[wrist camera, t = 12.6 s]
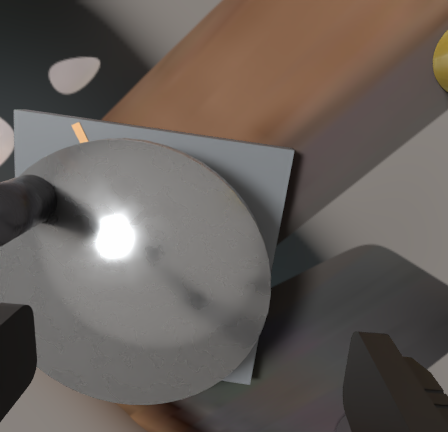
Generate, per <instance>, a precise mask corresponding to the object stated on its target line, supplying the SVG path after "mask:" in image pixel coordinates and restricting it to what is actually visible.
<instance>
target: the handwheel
mask: <svg viewBox="0 0 448 432" xmlns="http://www.w3.org/2000/svg"><path fill="white" fill-rule="evenodd" d="M270 297H271V274H270V266H269V259H268V253H267V249H266V246H265V242H264V239H263V235H262V233H261V231H260V229H259V226H258V224H257V222H256V219H255V218H254V216H253V214H252V213H251V211H250V209H249V208H248V206H247V204H246V203H245V202H244V200H243V199H242V198H241V197H240V195H239V194H238V193H237V192H236V190H235V189H234V188H233V187H232V186H231V185H230V184H229V183H228V182H227V181H226V180H225V179H224V178H223V177H221V176H220V175H219V174H218V173H217V172H215V171H214V170H213V169H211V168H210V167H208V166H207V165H206V164H204V163H203V162H201V161H199V160H198V159H196V158H194V157H192V156H190V155H188V154H187V153H185V152H182V151H180V150H177V149H174V148H172V147H169V146H167V145H163V144H159V143H155V142H151V141H147V140H139V139H130V138H109V139H101V140H94V141H88V142H84V143H79V144H76V145H73V146H70V147H67V148H63V149H60V150H58V151H56V152H54V153H52V154H50V155H48V156H46V157H44V158H42V159H41V160H39V161H38V162H36V163H35V164H33V165H32V166H30V167H29V168H27V169H26V170H25V171H24V172H23V173H22V174H21V175H20V176H19V177H17V178H13V179H10V180H7V181H4V182H1V183H0V303H12V304H24V305H29V306H30V307H31V308H32V310H33V314H34V325H35V338H36V350H37V366H36V367H38V368H39V369H40V370H42V371H43V372H44V373H46V374H47V375H48V376H50V377H51V378H53V379H54V380H56V381H58V382H59V383H61V384H63V385H65V386H66V387H69V388H71V389H73V390H75V391H77V392H79V393H82V394H85V395H88V396H90V397H93V398H97V399H101V400H105V401H109V402H113V403H121V404H130V405H151V404H161V403H167V402H172V401H177V400H181V399H184V398H187V397H190V396H193V395H196V394H198V393H200V392H202V391H204V390H206V389H208V388H210V387H212V386H213V385H215V384H216V383H218V382H219V381H221V380H223V379H224V378H225V377H226V376H228V375H229V374H230V373H231V372H232V371H233V370H235V369H236V368H237V367H238V366H239V364H240V363H241V362H242V361H243V360H244V359H245V358H246V357H247V355H248V354H249V352H250V351H251V349H252V348H253V346H254V345H255V343H256V342H257V340H258V337H259V335H260V333H261V331H262V329H263V327H264V323H265V320H266V317H267V314H268V309H269V303H270Z"/></svg>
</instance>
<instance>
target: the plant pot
mask: <svg viewBox="0 0 448 432" xmlns="http://www.w3.org/2000/svg"><path fill="white" fill-rule="evenodd" d="M433 70H434V74H435V77H436V79H437V81H438V83H439V84H440V85H441V87H442V88H443V89H444V90H446V91H447V92H448V30H447V31H446V33H445V34H444V35H443V36H442V38H441V39H440V41H439V42H438V44H437V46H436V49H435V52H434V56H433Z"/></svg>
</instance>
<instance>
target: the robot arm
mask: <svg viewBox="0 0 448 432" xmlns="http://www.w3.org/2000/svg"><path fill="white" fill-rule="evenodd" d="M36 366H37V350H36V338H35V325H34V314H33V310H32V308H31V307H30V306H29V305H24V304H12V303H0V422H1V420H2V419H3V418H4V417H5V415H6V414H7V413H8V412H9V410H10V409H11V408H12V406H13V405H14V404H15V403H16V401H17V400H18V399H19V398H20V396H21V395H22V394H23V392H24V391H25V390H26V389H27V387H28V386H29V384H30V383H31V381H32V379H33V377H34V374H35V370H36ZM343 405H344V410H345V414H346V415H345V416H344V417H343V418H342V419H341V420H340V422H339V424H338V426H337V428H336V432H448V396H447V395H446V394H444V393H443V389H442V388H441V386H440V385H439V384H438V382H437V381H436V380H435V378H434V377H433V375H432V374H431V373H430V372H429V371H428V370H427V369H425V368H424V367H423V366H421V365H420V364H419V363H418V362H416V361H415V360H414V359H413V358H411V357H403V356H402V355H401V353H400V352H399V350H398V349H397V347H396V346H395V344H394V343H393V341H392V339H391V338H390V337H389V335H387V334H380V333H368V332H354V333H353V335H352V338H351V342H350V348H349V354H348V359H347V365H346V371H345V377H344V383H343Z"/></svg>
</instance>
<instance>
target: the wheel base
mask: <svg viewBox="0 0 448 432" xmlns="http://www.w3.org/2000/svg"><path fill="white" fill-rule="evenodd" d="M109 138H130V139H139V140H147V141H151V142H155V143H159V144H163V145H167V146H169V147H172V148H174V149H177V150H180V151H182V152H185V153H187V154H188V155H190V156H192V157H194V158H196V159H198V160H199V161H201V162H203V163H204V164H206V165H207V166H208V167H210V168H211V169H213V170H214V171H215V172H217V173H218V174H219V175H220V176H221V177H223V178H224V179H225V180H226V181H227V182H228V183H229V184H230V185H231V186H232V187H233V188H234V189H235V190H236V192H237V193H238V194H239V195H240V197H241V198H242V199H243V200H244V202H245V203H246V204H247V206H248V208H249V209H250V211H251V213H252V214H253V216H254V218H255V219H256V222H257V224H258V226H259V229H260V231H261V233H262V235H263V239H264V242H265V246H266V249H267V253H268V259H269V266H270V274H271V271H272V266H273V260H274V256H275V250H276V245H277V240H278V235H279V229H280V224H281V219H282V214H283V208H284V203H285V198H286V193H287V187H288V182H289V177H290V172H291V166H292V161H293V156H294V151H295V150H293V149H292V148H288V147H281V146H274V145H267V144H260V143H253V142H246V141H239V140H233V139H226V138H219V137H212V136H205V135H198V134H191V133H184V132H178V131H171V130H164V129H157V128H150V127H143V126H136V125H129V124H123V123H116V122H109V121H102V120H95V119H88V118H81V117H74V116H67V115H61V114H54V113H47V112H40V111H33V110H25V109H21V110H14V149H15V178H17V177H19V176H20V175H21V174H22V173H23V172H24V171H25V170H26V169H27V168H29V167H30V166H32V165H33V164H35V163H36V162H38V161H39V160H41V159H42V158H44V157H46V156H48V155H50V154H52V153H54V152H56V151H58V150H60V149H63V148H67V147H70V146H73V145H76V144H79V143H84V142H88V141H94V140H101V139H109ZM258 339H259V337H258ZM257 345H258V340H257V342H256V343H255V345H254V346H253V348H252V349H251V351H250V352H249V354H248V355H247V357H246V358H245V359H244V360H243V361H242V362H241V363H240V364H239V366H238V367H237V368H236V369H235V370H233V371H232V372H231V373H230V374H229V375H228V376H226V377H225V378H224V379H223V380H221V381H228V382H235V383H241V384H248V385H250V381H251V376H252V371H253V366H254V360H255V355H256V350H257Z"/></svg>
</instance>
